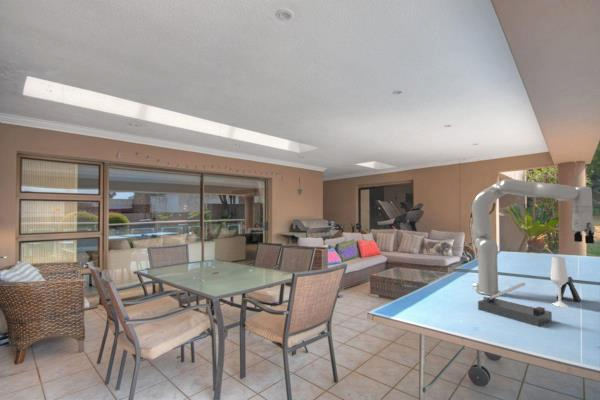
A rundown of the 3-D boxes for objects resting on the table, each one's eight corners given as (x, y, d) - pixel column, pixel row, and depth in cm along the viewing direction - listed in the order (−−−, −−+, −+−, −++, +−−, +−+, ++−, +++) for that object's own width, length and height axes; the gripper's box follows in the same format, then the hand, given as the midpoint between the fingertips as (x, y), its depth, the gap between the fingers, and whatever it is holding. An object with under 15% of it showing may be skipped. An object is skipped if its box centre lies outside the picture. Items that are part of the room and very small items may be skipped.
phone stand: (581, 300, 154) (580, 277, 155) (579, 302, 150) (578, 279, 151) (558, 296, 161) (557, 274, 162) (556, 298, 157) (555, 276, 158)
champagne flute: (572, 307, 142) (570, 258, 143) (556, 306, 144) (554, 257, 145) (563, 303, 149) (561, 256, 150) (548, 302, 150) (546, 255, 151)
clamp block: (478, 309, 139) (477, 297, 140) (492, 305, 145) (491, 294, 145) (538, 326, 118) (537, 312, 119) (551, 321, 124) (551, 307, 125)
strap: (487, 300, 140) (485, 298, 140) (491, 299, 142) (490, 297, 142) (521, 285, 127) (520, 283, 128) (526, 284, 129) (524, 282, 130)
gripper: (564, 210, 163) (565, 240, 163) (583, 209, 147) (584, 243, 146) (581, 210, 161) (582, 241, 160) (602, 209, 145) (603, 244, 144)
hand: (583, 242), depth 153 cm, fingers open, 9 cm apart
